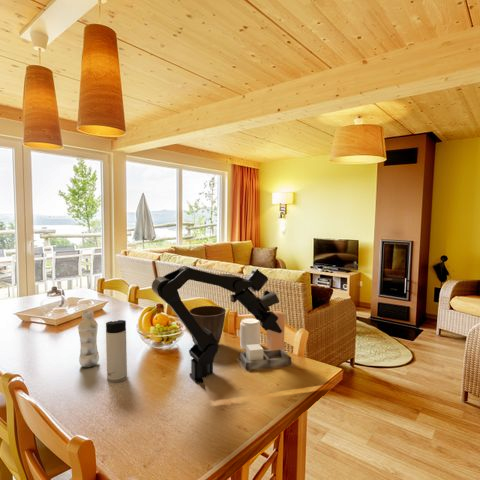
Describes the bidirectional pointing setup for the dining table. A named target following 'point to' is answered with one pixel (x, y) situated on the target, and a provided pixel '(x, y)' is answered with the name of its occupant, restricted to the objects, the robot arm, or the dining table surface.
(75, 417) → the dining table surface
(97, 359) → the plastic bottle
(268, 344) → the jaw tall
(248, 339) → the beverage can
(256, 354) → the cream white block
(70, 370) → the dining table surface
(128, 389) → the dining table surface
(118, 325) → the travel mug
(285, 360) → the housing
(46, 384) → the dining table surface
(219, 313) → the plant pot
